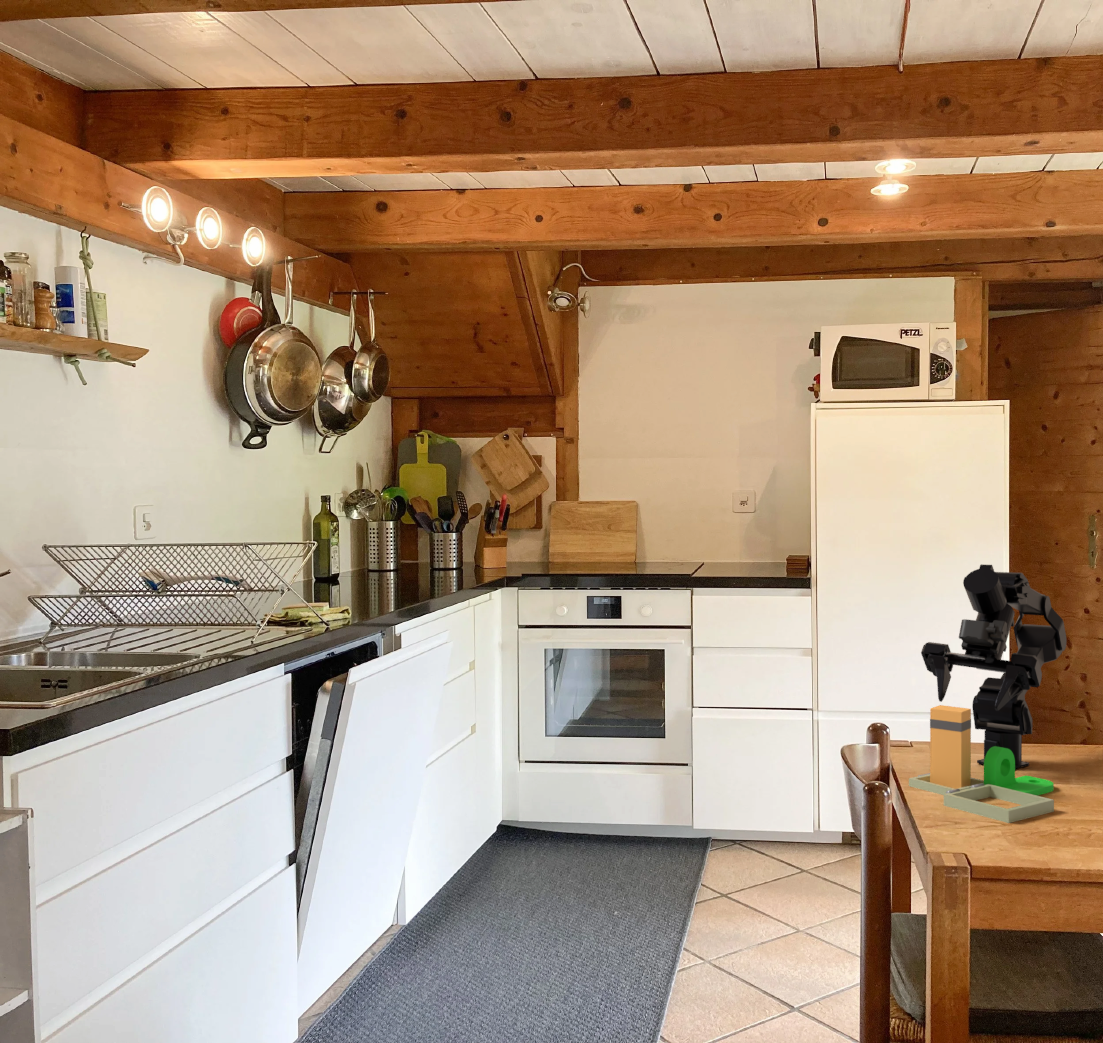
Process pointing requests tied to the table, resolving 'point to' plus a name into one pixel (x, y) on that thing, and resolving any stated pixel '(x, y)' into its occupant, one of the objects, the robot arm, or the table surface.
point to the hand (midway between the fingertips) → (967, 704)
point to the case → (1028, 808)
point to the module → (950, 746)
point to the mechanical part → (1011, 773)
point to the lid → (925, 784)
